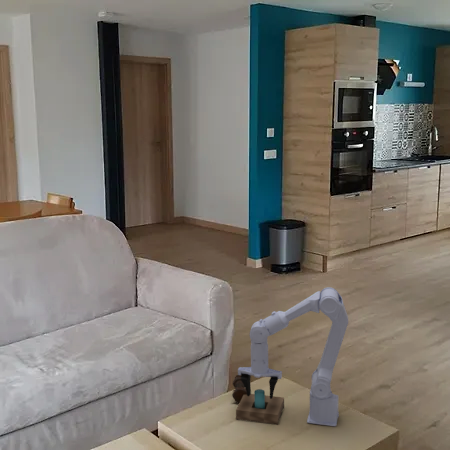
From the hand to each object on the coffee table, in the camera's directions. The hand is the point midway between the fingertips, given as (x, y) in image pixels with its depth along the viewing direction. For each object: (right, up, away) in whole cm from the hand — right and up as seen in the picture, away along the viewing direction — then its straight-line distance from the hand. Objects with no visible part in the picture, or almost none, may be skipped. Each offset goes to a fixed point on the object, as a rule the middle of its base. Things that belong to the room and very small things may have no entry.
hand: (260, 396), depth 199 cm
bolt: (-6, -4, +16) cm, 17 cm away
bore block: (0, -6, +2) cm, 7 cm away
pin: (0, -6, +1) cm, 6 cm away
